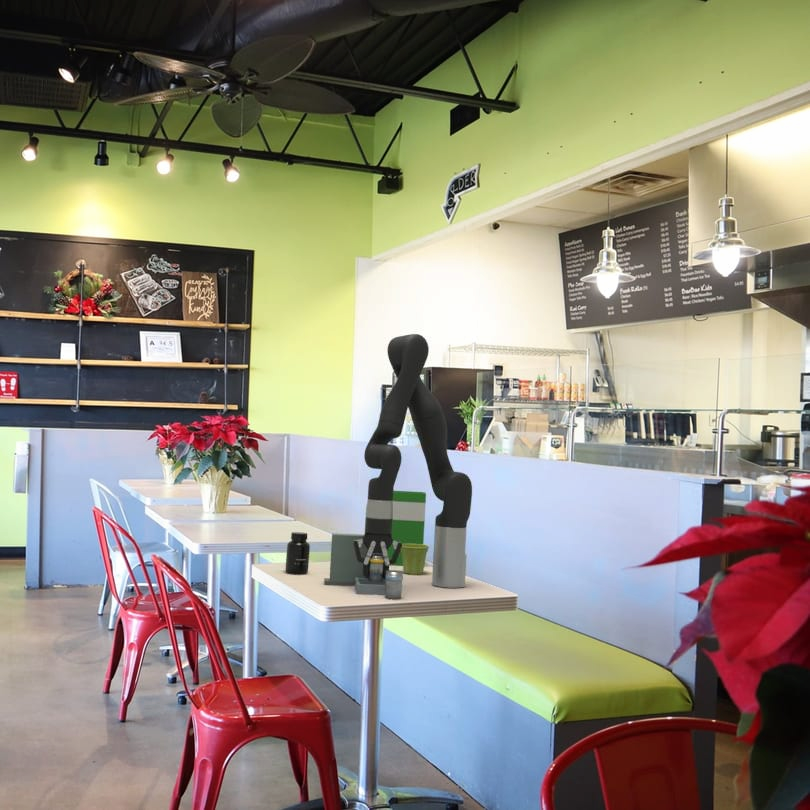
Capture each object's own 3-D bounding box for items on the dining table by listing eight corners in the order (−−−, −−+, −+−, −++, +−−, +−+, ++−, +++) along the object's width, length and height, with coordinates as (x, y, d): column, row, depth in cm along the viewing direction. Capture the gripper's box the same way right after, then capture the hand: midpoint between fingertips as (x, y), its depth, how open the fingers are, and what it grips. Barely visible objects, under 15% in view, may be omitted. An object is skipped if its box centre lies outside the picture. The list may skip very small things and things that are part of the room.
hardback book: (368, 564, 301) (372, 490, 301) (368, 560, 308) (372, 489, 309) (422, 567, 301) (426, 493, 302) (421, 563, 308) (425, 492, 309)
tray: (393, 588, 259) (394, 579, 259) (397, 595, 248) (397, 586, 248) (354, 586, 258) (355, 577, 258) (356, 593, 247) (357, 584, 247)
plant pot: (401, 575, 281) (403, 547, 282) (395, 570, 291) (396, 543, 291) (431, 576, 284) (432, 547, 284) (423, 571, 293) (425, 543, 293)
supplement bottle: (299, 575, 271) (301, 535, 271) (280, 572, 274) (283, 532, 275) (312, 573, 277) (315, 533, 277) (294, 570, 280) (296, 531, 281)
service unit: (386, 584, 265) (389, 535, 265) (388, 587, 260) (390, 537, 260) (324, 581, 263) (326, 532, 263) (324, 584, 258) (327, 534, 258)
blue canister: (400, 596, 246) (402, 570, 246) (402, 600, 242) (403, 573, 242) (383, 596, 246) (385, 569, 246) (385, 599, 241) (386, 572, 241)
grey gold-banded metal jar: (384, 582, 251) (385, 556, 251) (367, 581, 251) (369, 555, 251) (383, 579, 256) (384, 554, 256) (366, 578, 255) (368, 553, 255)
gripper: (403, 516, 258) (400, 577, 257) (352, 513, 257) (349, 575, 256) (406, 518, 250) (402, 581, 250) (353, 516, 249) (350, 579, 249)
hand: (375, 578), depth 253 cm, fingers closed on grey gold-banded metal jar, 4 cm apart
